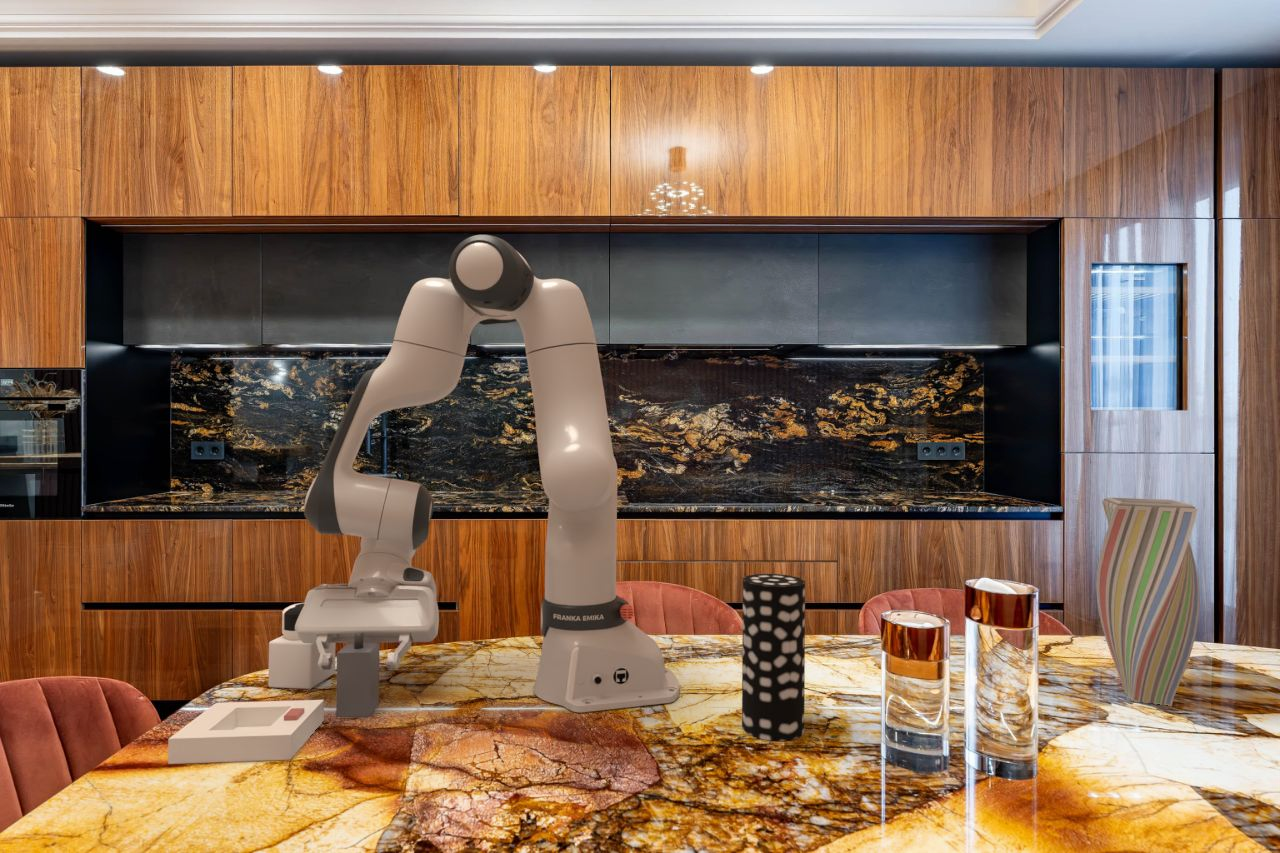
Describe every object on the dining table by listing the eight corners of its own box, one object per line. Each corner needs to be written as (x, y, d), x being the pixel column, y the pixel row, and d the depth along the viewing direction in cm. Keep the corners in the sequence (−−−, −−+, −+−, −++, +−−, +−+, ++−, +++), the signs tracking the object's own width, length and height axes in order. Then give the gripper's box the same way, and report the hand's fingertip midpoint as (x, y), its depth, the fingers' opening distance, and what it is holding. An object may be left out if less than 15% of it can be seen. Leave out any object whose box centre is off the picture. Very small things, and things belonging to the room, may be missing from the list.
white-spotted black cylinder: (809, 721, 96) (810, 577, 96) (797, 746, 88) (797, 589, 88) (751, 711, 99) (752, 571, 99) (734, 733, 92) (735, 582, 92)
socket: (323, 721, 94) (323, 695, 95) (290, 759, 84) (290, 729, 84) (216, 725, 93) (216, 698, 93) (168, 764, 82) (168, 733, 82)
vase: (1105, 707, 101) (1105, 503, 102) (1085, 677, 114) (1085, 495, 114) (1219, 722, 96) (1219, 507, 97) (1185, 689, 109) (1185, 499, 109)
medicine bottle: (336, 673, 113) (336, 600, 113) (311, 689, 106) (311, 611, 106) (294, 671, 114) (295, 599, 114) (267, 687, 107) (268, 610, 107)
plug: (378, 704, 101) (379, 628, 101) (369, 717, 96) (370, 637, 96) (346, 705, 100) (347, 629, 100) (336, 718, 96) (337, 638, 96)
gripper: (305, 573, 106) (275, 657, 96) (441, 572, 107) (426, 656, 98) (315, 595, 110) (288, 678, 100) (446, 594, 112) (432, 676, 102)
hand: (358, 667), depth 99 cm, fingers open, 8 cm apart
